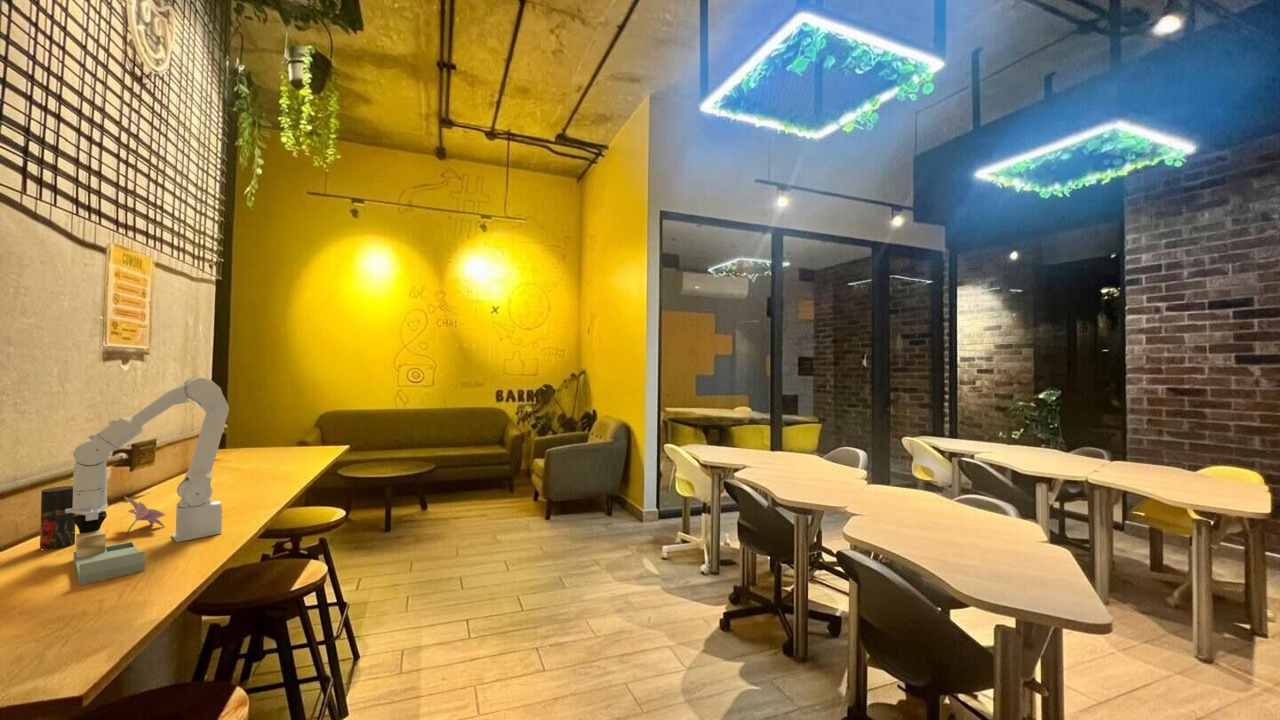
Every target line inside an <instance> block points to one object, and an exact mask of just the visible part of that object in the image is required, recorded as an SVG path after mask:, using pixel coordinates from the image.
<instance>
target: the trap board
mask: <svg viewBox="0 0 1280 720" xmlns="http://www.w3.org/2000/svg"><path fill="white" fill-rule="evenodd" d="M73 563H74V570H75V573H76V576H77V577H76V578H77V582H78V585H79V586H83V585H88V584H92V583H95V582H94V581H97V582H99V581H98V580H101V581H103V580H102V579H106V580H108V579H107V578H110V579H112V578H111V577H115V578H117V577H116V576H119V577H123V576H122V575H124V576H127V574H128V575H132V574H136V572H137V573H140V571H141V572H144V571H145V567H146V550H140V551H139V549H138V548H137V546H136V544H135V542H134V541H133V540H132V541H127V542H121V543H117V544H111V545H105V552H103V553H98V554H93V555H88V556H83V557H78V558H77V556H76V551H74V552H73ZM91 582H92V583H91ZM87 583H88V584H87Z"/></svg>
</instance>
